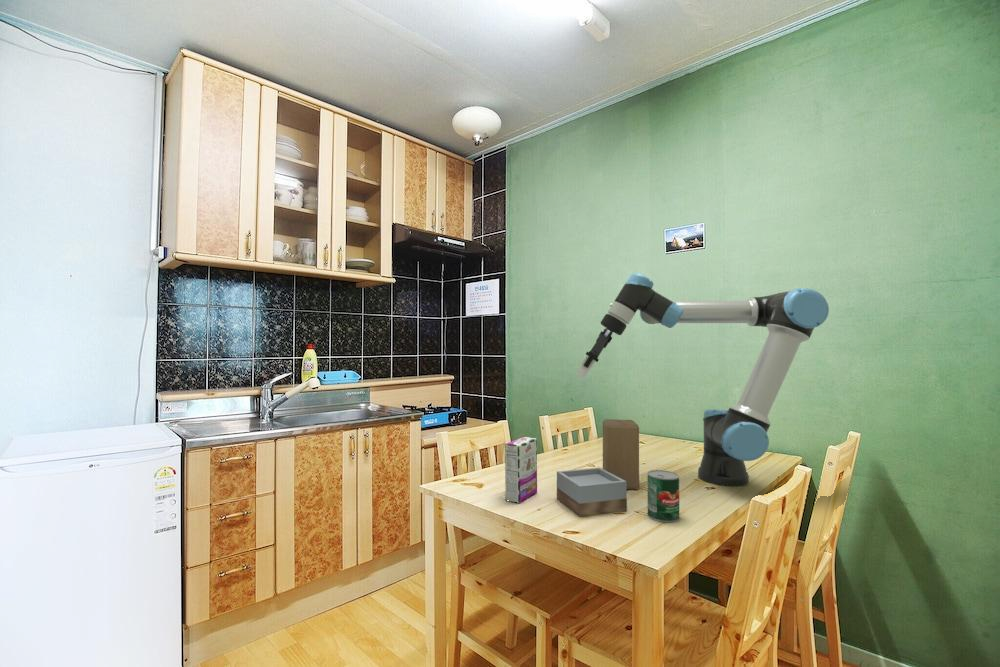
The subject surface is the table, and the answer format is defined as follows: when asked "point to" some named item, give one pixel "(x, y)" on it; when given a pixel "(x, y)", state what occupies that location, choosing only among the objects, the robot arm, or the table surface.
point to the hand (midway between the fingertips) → (580, 376)
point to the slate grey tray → (591, 485)
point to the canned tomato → (663, 495)
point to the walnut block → (592, 505)
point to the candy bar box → (521, 469)
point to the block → (621, 450)
